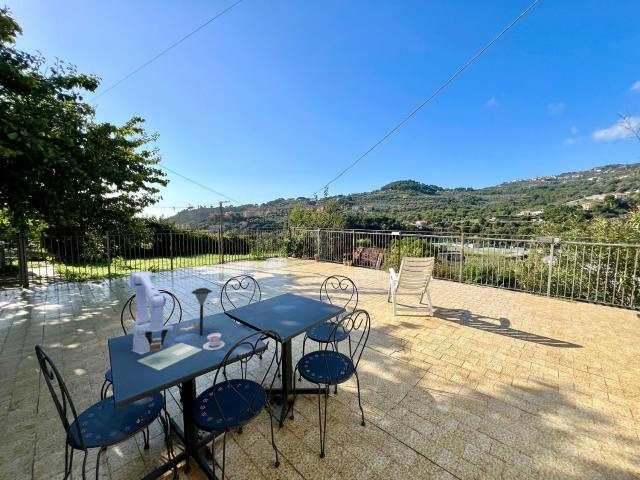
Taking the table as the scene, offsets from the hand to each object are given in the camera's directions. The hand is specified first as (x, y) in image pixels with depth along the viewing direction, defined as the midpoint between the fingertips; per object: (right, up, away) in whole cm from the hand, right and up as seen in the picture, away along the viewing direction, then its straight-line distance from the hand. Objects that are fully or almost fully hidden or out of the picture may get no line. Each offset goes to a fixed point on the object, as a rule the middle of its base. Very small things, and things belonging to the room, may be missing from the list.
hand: (156, 345), depth 135 cm
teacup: (+21, -9, +20) cm, 31 cm away
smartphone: (-5, -7, +47) cm, 48 cm away
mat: (+4, -8, +7) cm, 11 cm away
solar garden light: (+7, -7, +34) cm, 36 cm away
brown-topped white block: (0, -1, 0) cm, 1 cm away
